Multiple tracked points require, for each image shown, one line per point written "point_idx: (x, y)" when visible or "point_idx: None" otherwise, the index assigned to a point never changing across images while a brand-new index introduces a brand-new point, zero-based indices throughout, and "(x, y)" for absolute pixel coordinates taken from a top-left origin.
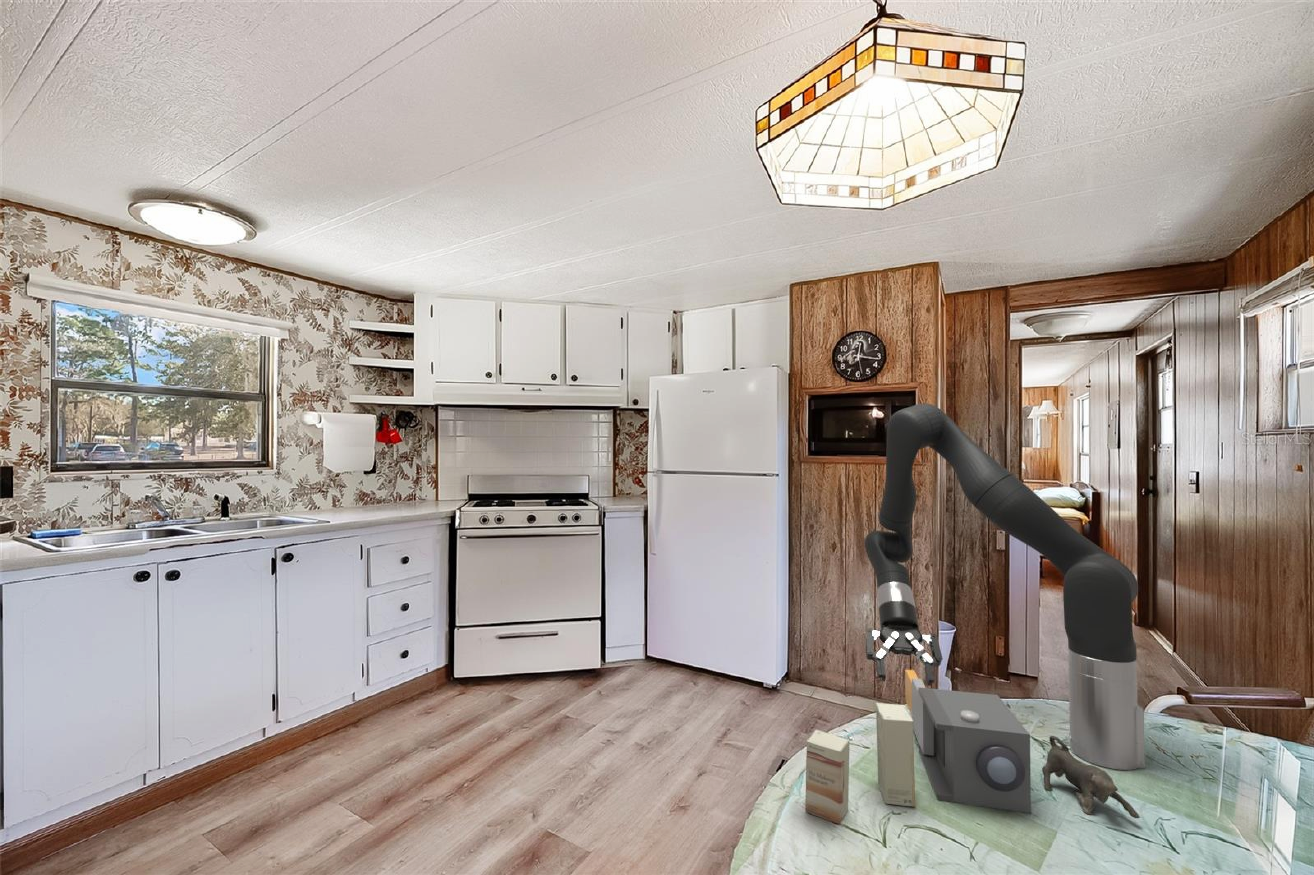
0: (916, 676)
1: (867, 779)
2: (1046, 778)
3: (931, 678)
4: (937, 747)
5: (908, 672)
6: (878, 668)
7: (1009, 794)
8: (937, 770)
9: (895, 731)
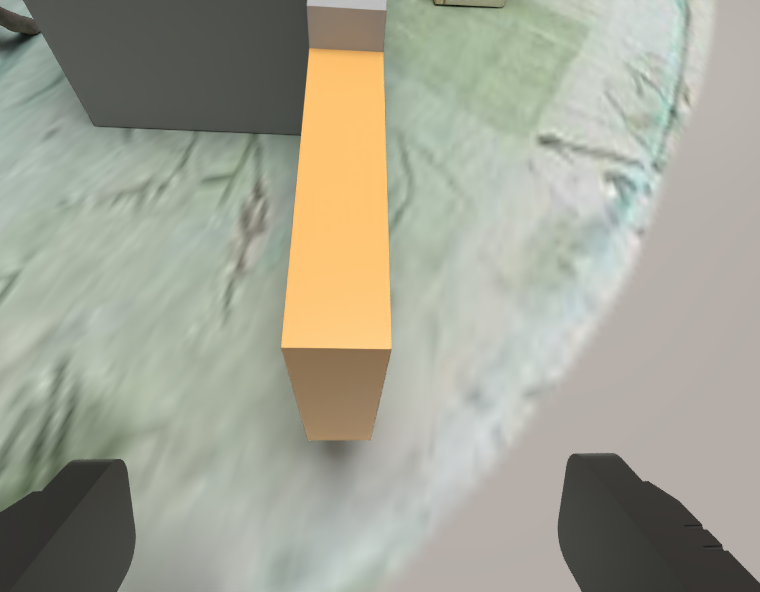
0: (305, 179)
1: (529, 13)
2: (10, 11)
3: (66, 474)
4: None
5: (369, 258)
6: (701, 538)
7: None
8: None
9: None
